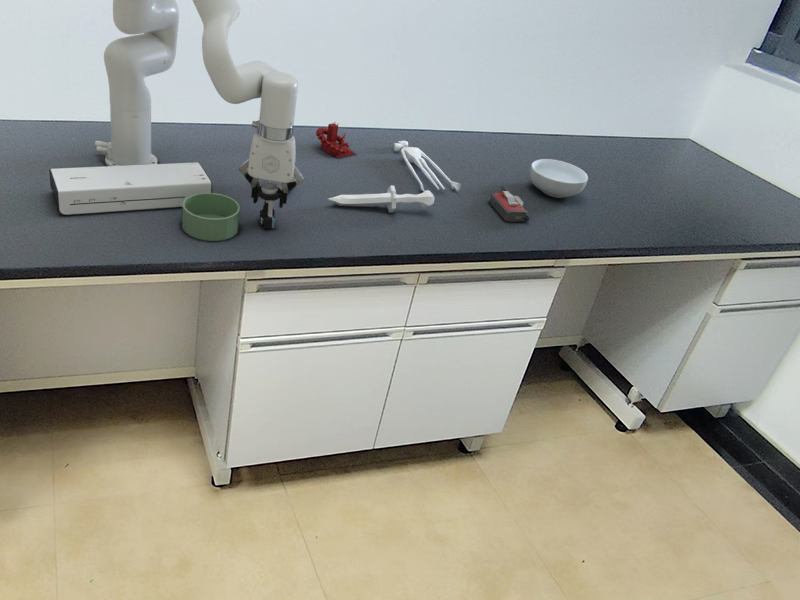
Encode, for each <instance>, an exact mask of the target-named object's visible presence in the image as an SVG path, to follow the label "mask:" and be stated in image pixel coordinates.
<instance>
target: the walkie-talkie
mask: <svg viewBox="0 0 800 600" xmlns="http://www.w3.org/2000/svg"><path fill="white" fill-rule="evenodd" d="M505 185H506V184H502V185H501V189H502V190H501V191H499V192H492V193H491V195H490V197H489V198H490V199H489V203H490V204H491V206H492V207H493V208H494V209H495V211H496V212H497V213H498V214H499V216H500V217H501V218H502V219H503V220H504V221H505V222H516V223H517V222H518V223H519V222H520V223H521V222H522V223H523V222H525V221H526V222H529V221H530V220H531V219H530V216H529V215H528V213H529V212H528V211H527V210H526V209H525V208H524V207H523V206H524V201H522V199H521V198H520V196H519V195H515V194H513V193H512V192H511V191H510V190H509V188H507V186H505Z"/></svg>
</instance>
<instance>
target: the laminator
mask: <svg viewBox="0 0 800 600" xmlns="http://www.w3.org/2000/svg"><path fill="white" fill-rule="evenodd" d="M203 167H204V166H203V165H202V164H201V163H200V162H176V163H173V162H172V163H157V164H150V165H127V166H107V165H106V166H84V167H82V166H81V167H63V168H49V170H48V171H49V183H50V189H51V191H52V193H53V196H54V199H55V202H56V205H57V210H58V212H59V214H60V215H62V216H78V215H79V216H80V215H95V214H107V213H122V212H136V211H137V212H138V211H150V210H152V211H153V210H163V209H164V210H165V209H167V210H168V209H179V208H181V209H182V203H183V201H184V199H186V198H187V197H189V196H191V195H194V194H198V193H213V181H212V180H211V178H210V176H209V174H208V173H207V172H206V170H205V169H204V168H203Z"/></svg>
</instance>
